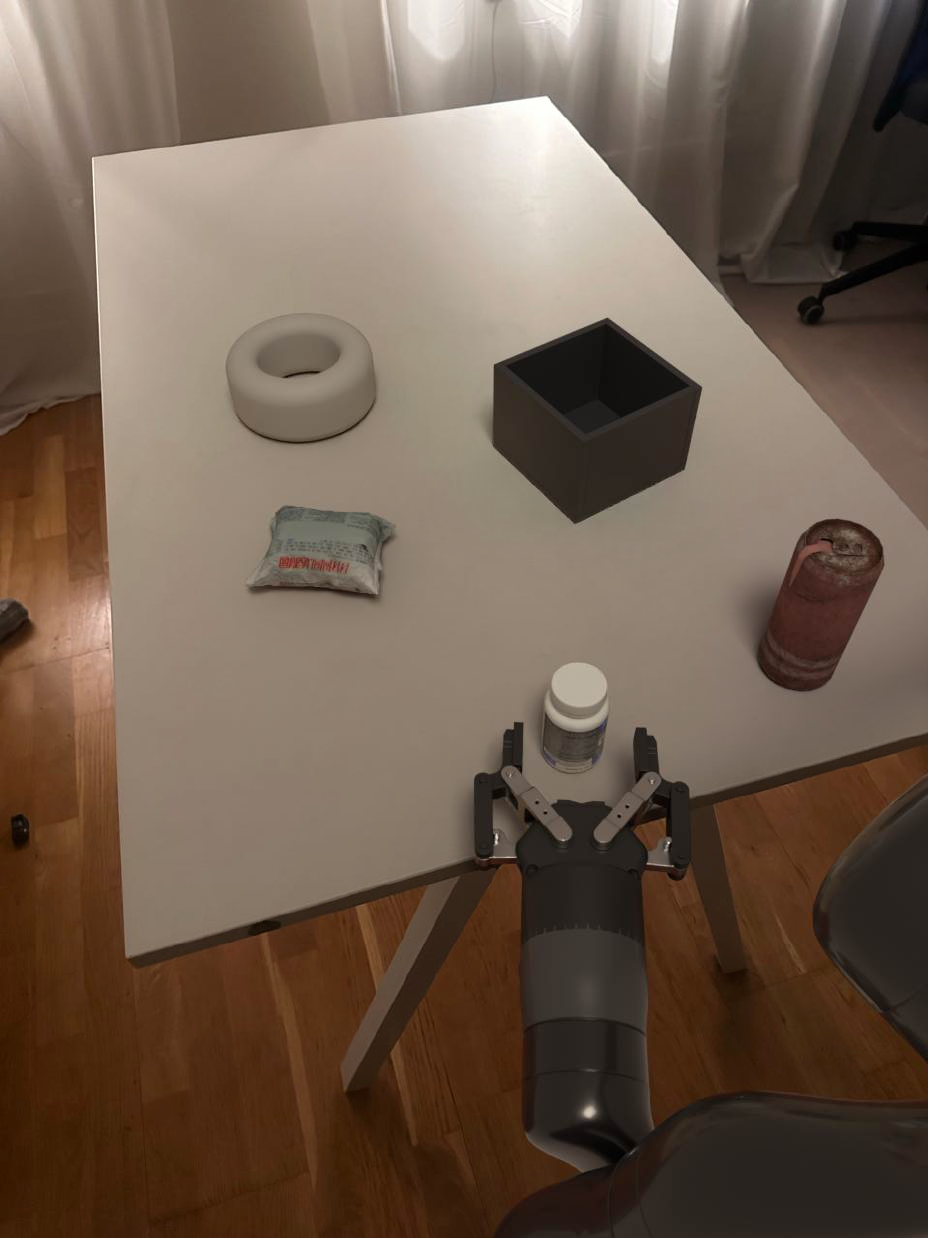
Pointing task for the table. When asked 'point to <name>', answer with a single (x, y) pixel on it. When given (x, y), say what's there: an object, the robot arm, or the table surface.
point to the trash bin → (593, 417)
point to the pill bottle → (575, 718)
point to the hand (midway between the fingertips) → (578, 730)
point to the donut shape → (303, 401)
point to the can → (820, 602)
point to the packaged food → (323, 550)
